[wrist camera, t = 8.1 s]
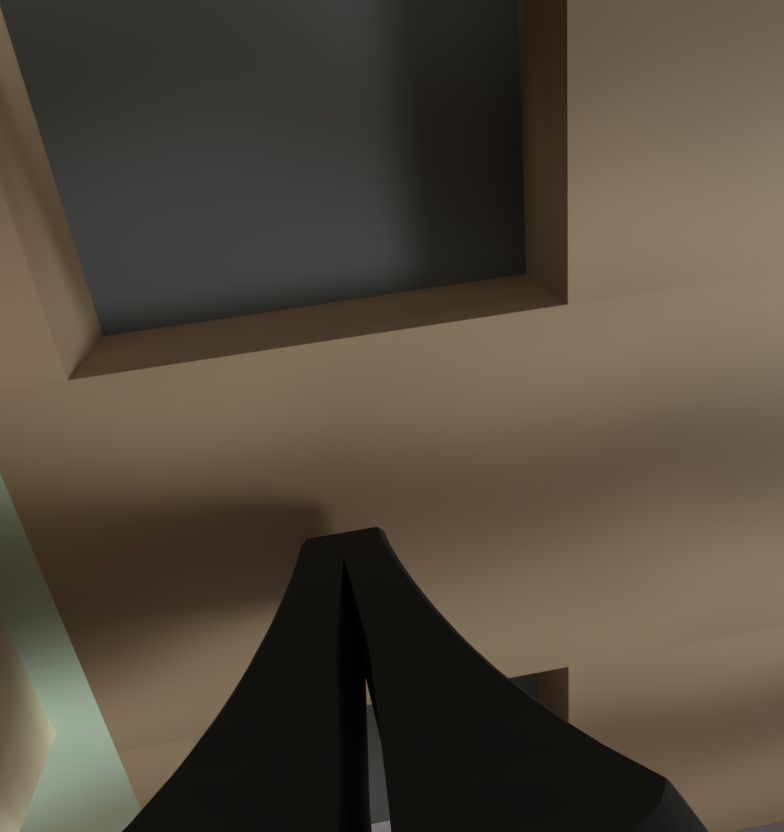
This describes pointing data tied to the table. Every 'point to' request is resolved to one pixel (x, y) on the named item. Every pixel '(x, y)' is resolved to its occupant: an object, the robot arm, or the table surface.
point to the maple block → (19, 737)
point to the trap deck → (396, 362)
